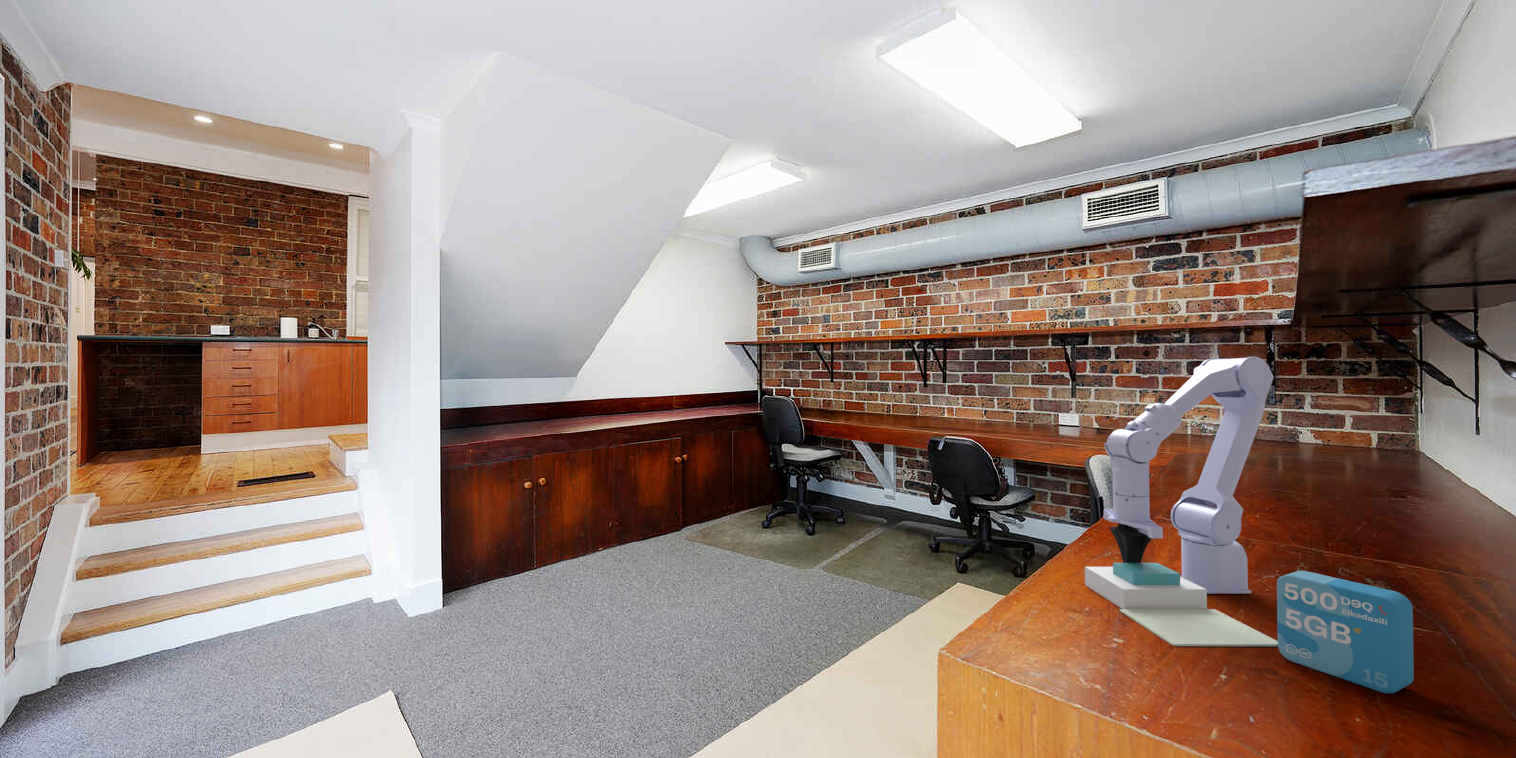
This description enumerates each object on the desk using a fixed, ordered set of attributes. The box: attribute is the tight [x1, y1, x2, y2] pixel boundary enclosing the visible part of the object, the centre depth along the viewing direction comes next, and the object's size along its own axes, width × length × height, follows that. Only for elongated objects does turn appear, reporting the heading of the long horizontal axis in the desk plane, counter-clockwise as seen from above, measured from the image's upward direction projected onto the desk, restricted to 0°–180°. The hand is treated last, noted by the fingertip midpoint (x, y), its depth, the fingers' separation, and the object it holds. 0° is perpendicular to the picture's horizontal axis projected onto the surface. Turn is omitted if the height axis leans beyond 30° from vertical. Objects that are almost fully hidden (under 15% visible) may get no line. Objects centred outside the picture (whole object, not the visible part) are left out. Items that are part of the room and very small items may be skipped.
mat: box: [1119, 608, 1278, 647], centre depth 90 cm, size 16×13×1 cm
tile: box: [1112, 562, 1181, 585], centre depth 103 cm, size 8×6×2 cm
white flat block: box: [1084, 566, 1208, 609], centre depth 104 cm, size 14×12×4 cm
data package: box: [1276, 570, 1415, 694], centre depth 76 cm, size 12×4×12 cm, turn 26°
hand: (1131, 567), depth 106 cm, fingers closed
